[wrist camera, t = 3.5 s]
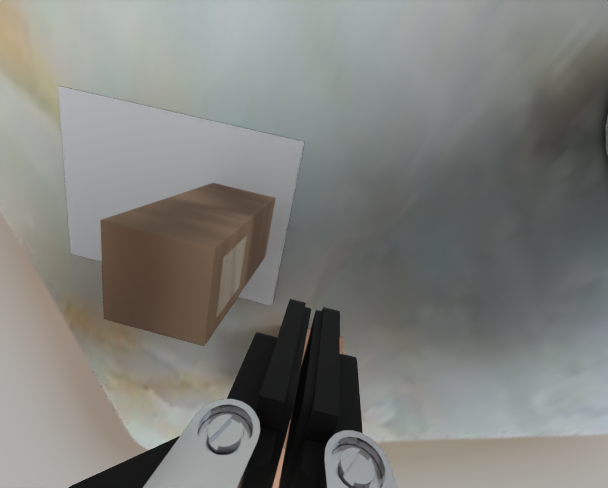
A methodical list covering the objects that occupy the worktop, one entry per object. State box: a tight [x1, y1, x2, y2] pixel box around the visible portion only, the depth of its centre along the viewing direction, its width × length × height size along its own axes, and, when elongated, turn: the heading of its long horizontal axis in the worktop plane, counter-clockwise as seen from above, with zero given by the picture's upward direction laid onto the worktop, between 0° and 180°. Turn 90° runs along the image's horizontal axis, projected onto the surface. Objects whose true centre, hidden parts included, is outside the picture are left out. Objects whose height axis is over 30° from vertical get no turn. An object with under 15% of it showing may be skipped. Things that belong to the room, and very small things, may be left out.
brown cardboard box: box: [100, 183, 276, 346], centre depth 15 cm, size 4×4×9 cm
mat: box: [58, 86, 305, 306], centre depth 19 cm, size 15×11×1 cm
